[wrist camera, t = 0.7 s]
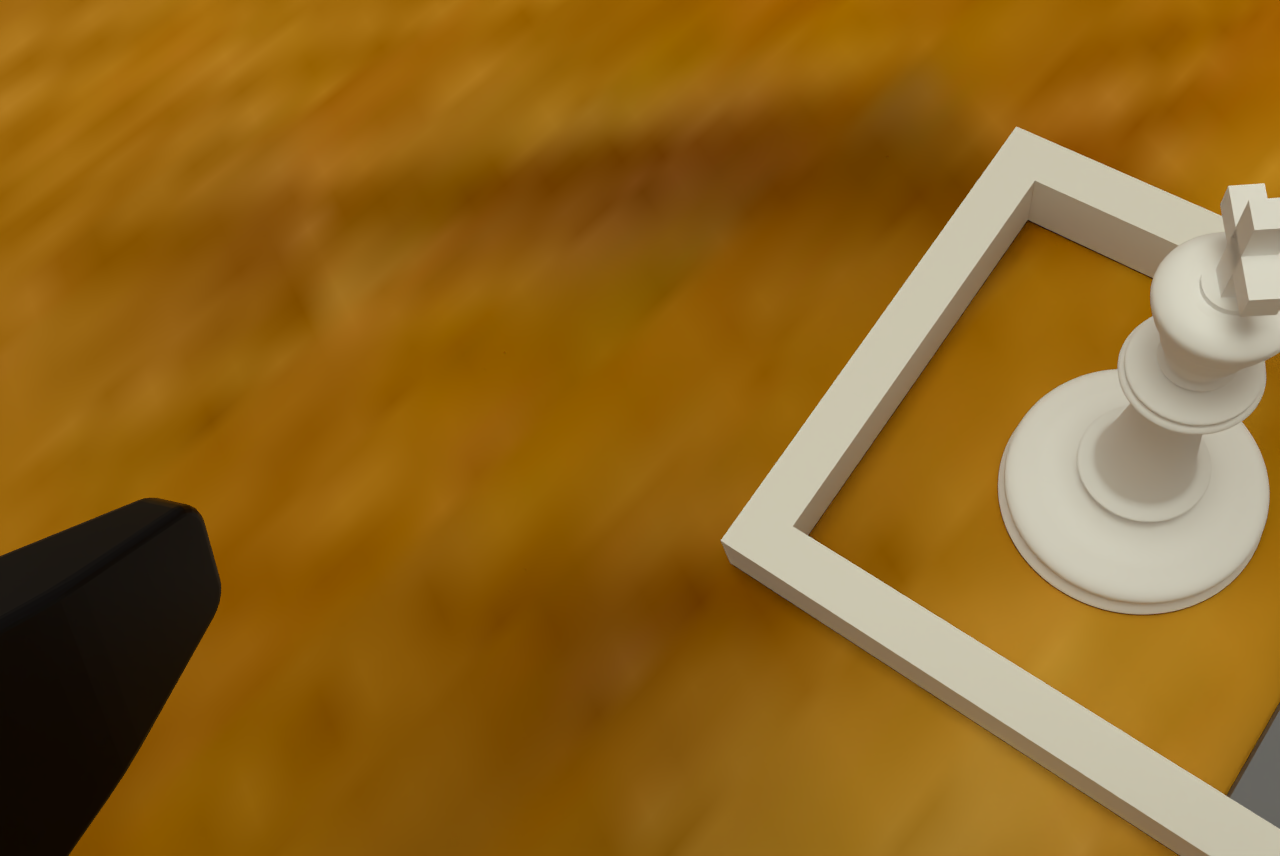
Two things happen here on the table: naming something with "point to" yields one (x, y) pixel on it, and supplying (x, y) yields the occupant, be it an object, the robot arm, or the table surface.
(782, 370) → the table surface
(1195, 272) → the chess piece
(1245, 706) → the table surface
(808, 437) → the trap box
